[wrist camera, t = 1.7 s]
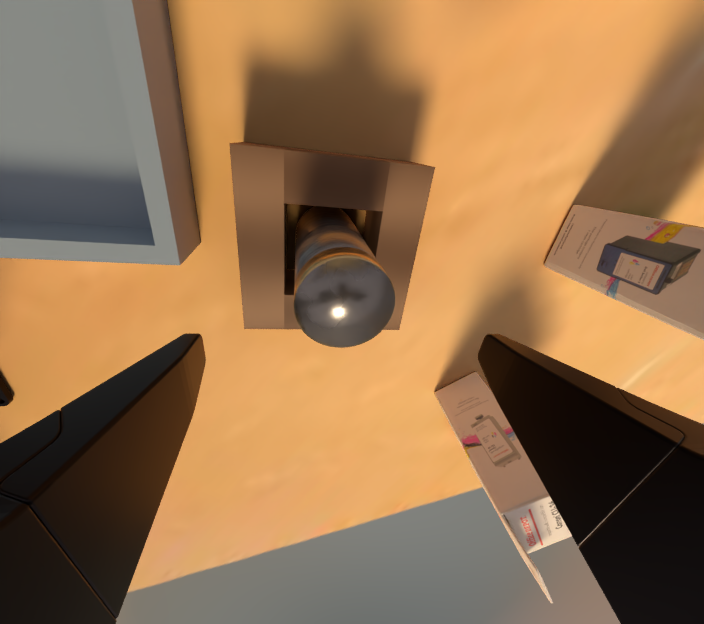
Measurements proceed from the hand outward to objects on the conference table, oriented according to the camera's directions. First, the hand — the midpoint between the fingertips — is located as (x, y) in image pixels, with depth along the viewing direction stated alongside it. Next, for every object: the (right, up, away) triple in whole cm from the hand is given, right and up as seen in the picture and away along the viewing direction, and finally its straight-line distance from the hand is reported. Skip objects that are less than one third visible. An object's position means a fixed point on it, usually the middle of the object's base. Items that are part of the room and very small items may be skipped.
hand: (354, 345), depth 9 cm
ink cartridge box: (+12, -9, +22) cm, 27 cm away
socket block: (-2, +6, +11) cm, 13 cm away
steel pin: (-2, +6, +11) cm, 13 cm away
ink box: (+20, +7, +15) cm, 26 cm away
